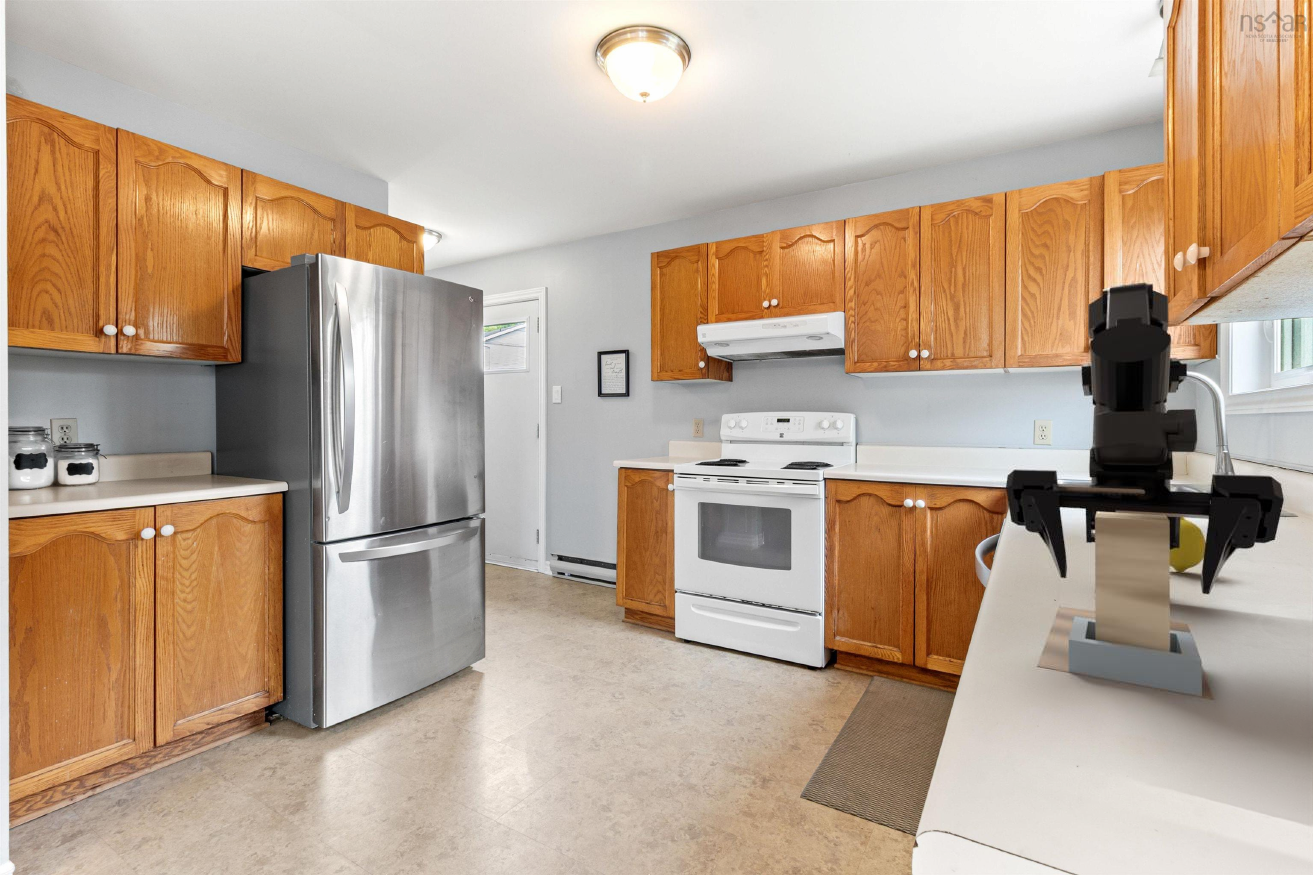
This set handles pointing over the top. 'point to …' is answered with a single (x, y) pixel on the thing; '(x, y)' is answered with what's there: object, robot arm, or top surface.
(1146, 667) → the slate socket block
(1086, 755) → the top surface
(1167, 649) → the beech pillar
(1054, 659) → the tan flat plate
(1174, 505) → the robot arm
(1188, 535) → the lemon
